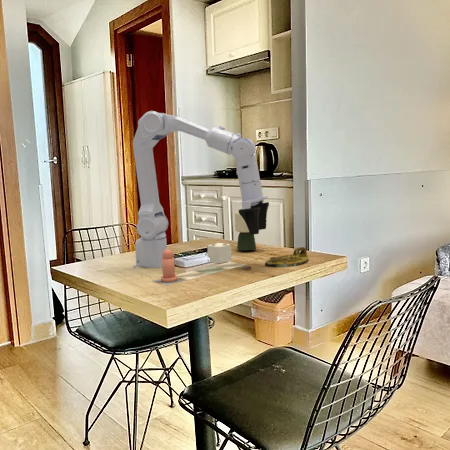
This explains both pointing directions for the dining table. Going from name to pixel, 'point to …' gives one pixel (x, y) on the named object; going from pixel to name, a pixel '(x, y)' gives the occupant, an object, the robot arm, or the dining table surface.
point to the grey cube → (219, 252)
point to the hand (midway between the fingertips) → (258, 231)
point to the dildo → (168, 267)
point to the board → (205, 270)
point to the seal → (289, 259)
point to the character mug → (243, 234)
